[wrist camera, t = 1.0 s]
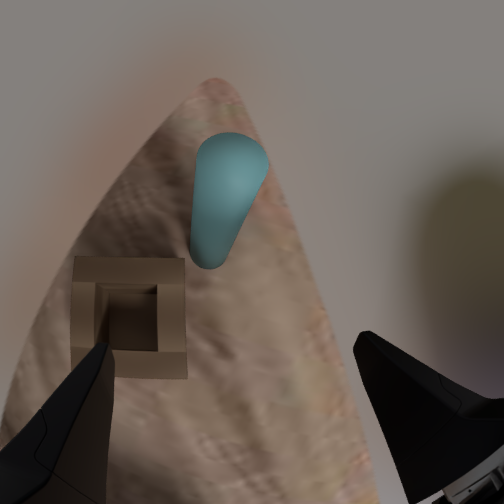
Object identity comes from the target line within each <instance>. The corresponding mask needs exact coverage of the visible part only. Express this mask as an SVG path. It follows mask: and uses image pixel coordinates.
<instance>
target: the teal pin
mask: <svg viewBox="0 0 504 504" xmlns="http://www.w3.org/2000/svg"><path fill="white" fill-rule="evenodd" d="M268 166H269V163H268V158H267V155H266V153H265V151H264V150H263V148H262V147H261V146H260V145H259V144H258V143H257V142H256V141H254V140H253V139H251V138H249V137H247V136H245V135H242V134H238V133H220V134H217V135H214V136H212V137H210V138H208V139H207V140H206V141H204V142H203V144H202V145H201V146H200V148H199V150H198V153H197V160H196V170H195V181H194V193H193V206H192V220H191V237H190V256H191V258H192V260H193V262H194V263H195V264H196V265H197V266H199V267H201V268H203V269H215V268H217V267H219V266H221V265H222V264H223V263H224V261H225V259H226V257H227V255H228V253H229V251H230V249H231V247H232V245H233V242H234V240H235V238H236V236H237V234H238V232H239V230H240V228H241V226H242V224H243V222H244V219H245V217H246V215H247V213H248V211H249V209H250V207H251V205H252V203H253V201H254V199H255V197H256V195H257V193H258V190H259V188H260V186H261V184H262V182H263V180H264V178H265V176H266V174H267V171H268Z"/></svg>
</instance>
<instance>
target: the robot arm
mask: <svg viewBox="0 0 504 504" xmlns="http://www.w3.org/2000/svg"><path fill="white" fill-rule="evenodd" d="M353 353H354V356H355V359H356V362H357V366H358V369H359V372H360V376H361V379H362V382H363V385H364V387H365V390H366V392H367V395H368V397H369V399H370V402H371V404H372V406H373V409H374V412H375V414H376V416H377V419H378V421H379V424H380V426H381V429H382V432H383V434H384V437H385V439H386V442H387V444H388V447H389V449H390V452H391V455H392V457H393V460H394V463H395V466H396V469H397V471H398V474H399V477H400V480H401V483H402V485H403V488H404V491H405V494H406V497H407V500H408V503H409V504H417V503H418V502H420V501H422V500H424V499H426V498H428V497H430V496H431V495H433V494H435V493H437V492H438V491H440V490H442V491H443V493H444V495H442V496H441V497H439V498H438V499H437V500H435V501H433V502H432V504H504V398H498V399H490V398H485V397H483V396H481V395H479V394H477V393H475V392H473V391H471V390H469V389H467V388H464V387H462V386H461V385H459V384H457V383H455V382H453V381H452V380H450V379H448V378H446V377H445V376H443V375H442V374H440V373H438V372H437V371H435V370H433V369H432V368H430V367H428V366H427V365H425V364H424V363H422V362H420V361H419V360H417V359H415V358H414V357H412V356H411V355H409V354H407V353H405V352H404V351H402V350H401V349H399V348H398V347H396V346H394V345H393V344H391V343H389V342H388V341H386V340H385V339H383V338H381V337H380V336H378V335H377V334H375V333H373V332H371V331H363V332H361V333H359V335H358V338H357V340H356V342H355V344H354V347H353ZM114 376H115V359H114V356H113V353H112V349H111V346H110V344H109V343H104V342H98V343H97V344H96V345H95V346H94V347H93V348H92V349H91V350H90V351H89V352H88V353H87V355H86V356H85V357H84V358H83V359H82V360H81V361H80V362H79V364H78V365H77V366H76V367H75V368H74V369H73V370H72V372H71V373H70V374H69V375H68V376H67V377H66V378H65V380H64V381H63V382H62V383H61V384H60V385H59V387H58V388H57V389H56V390H55V391H54V392H53V394H52V395H51V396H50V397H49V398H48V400H47V401H46V402H45V403H44V404H43V406H42V407H41V409H39V410H38V412H37V413H36V414H35V415H34V416H33V418H32V419H31V420H30V421H29V422H28V423H27V425H26V426H25V427H24V428H23V429H22V430H21V431H20V432H19V433H18V434H17V435H16V436H15V437H14V438H13V439H12V440H11V441H10V442H9V443H8V444H7V445H6V446H5V447H4V448H3V449H2V450H1V451H0V504H106V477H107V461H108V449H109V438H110V429H111V421H112V413H113V404H114Z"/></svg>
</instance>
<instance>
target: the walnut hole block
mask: <svg viewBox="0 0 504 504" xmlns="http://www.w3.org/2000/svg"><path fill="white" fill-rule="evenodd" d="M98 342H104V343H109V344H110V346H111V349H112V353H113V356H114V359H115V376H114V377H123V378H142V379H188V372H187V353H186V326H185V258H140V257H85V256H75V259H74V269H73V280H72V294H71V319H70V348H71V372H72V370H73V369H74V368H75V367H76V366H77V365H78V364H79V362H80V361H81V360H82V359H83V358H84V357H85V356H86V355H87V353H88V352H89V351H90V350H91V349H92V348H93V347H94V346H95V345H96V344H97V343H98Z"/></svg>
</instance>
